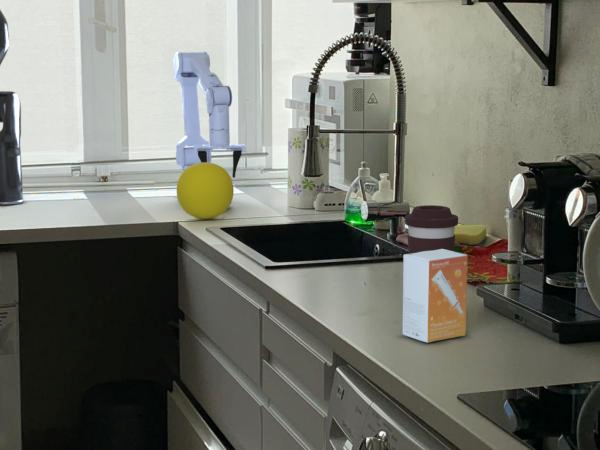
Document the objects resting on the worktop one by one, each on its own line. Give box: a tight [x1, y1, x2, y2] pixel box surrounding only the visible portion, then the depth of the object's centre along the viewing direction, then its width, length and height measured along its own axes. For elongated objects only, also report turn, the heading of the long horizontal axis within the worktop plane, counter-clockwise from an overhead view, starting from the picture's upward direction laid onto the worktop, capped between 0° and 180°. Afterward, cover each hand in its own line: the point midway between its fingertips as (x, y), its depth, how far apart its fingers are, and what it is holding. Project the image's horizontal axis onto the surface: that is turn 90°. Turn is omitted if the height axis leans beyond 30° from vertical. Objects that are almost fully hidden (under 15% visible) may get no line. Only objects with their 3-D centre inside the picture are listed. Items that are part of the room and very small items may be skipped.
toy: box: [176, 162, 235, 220], centre depth 278 cm, size 15×15×15 cm
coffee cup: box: [404, 204, 459, 254], centre depth 197 cm, size 10×10×15 cm
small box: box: [402, 249, 469, 344], centre depth 163 cm, size 8×6×13 cm
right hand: (220, 177), depth 297 cm, fingers open, 7 cm apart
